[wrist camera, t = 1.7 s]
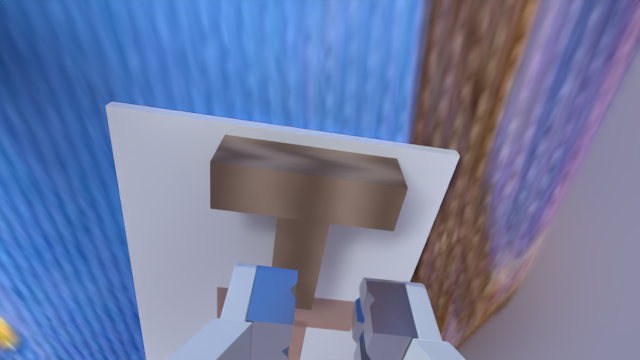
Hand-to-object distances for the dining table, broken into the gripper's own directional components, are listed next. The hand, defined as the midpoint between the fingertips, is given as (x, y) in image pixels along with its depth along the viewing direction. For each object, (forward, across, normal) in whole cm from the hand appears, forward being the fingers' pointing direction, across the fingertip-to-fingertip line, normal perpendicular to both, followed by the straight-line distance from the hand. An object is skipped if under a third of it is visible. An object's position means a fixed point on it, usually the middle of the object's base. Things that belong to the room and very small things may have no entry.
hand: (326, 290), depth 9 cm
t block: (+20, 0, +13) cm, 24 cm away
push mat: (+21, +2, +24) cm, 32 cm away
